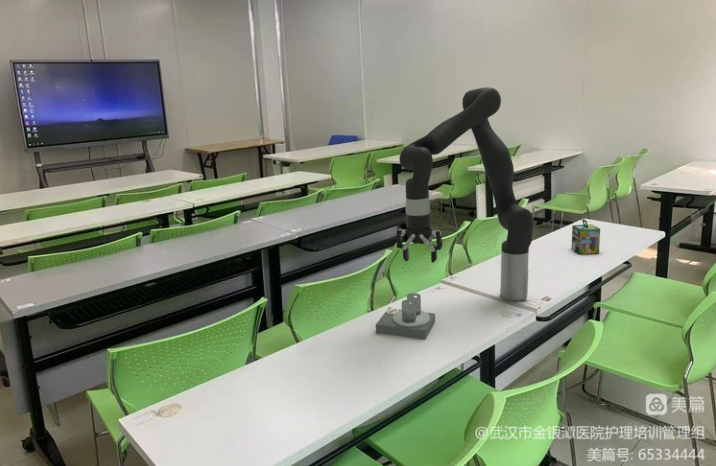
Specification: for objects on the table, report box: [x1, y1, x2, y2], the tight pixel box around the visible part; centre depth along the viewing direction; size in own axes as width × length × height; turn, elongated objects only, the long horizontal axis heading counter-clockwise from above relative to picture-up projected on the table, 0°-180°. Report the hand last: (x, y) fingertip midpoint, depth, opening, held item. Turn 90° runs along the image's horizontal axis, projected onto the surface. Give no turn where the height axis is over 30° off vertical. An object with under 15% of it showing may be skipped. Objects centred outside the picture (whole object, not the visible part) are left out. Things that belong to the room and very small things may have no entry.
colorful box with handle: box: [570, 218, 601, 255], centre depth 235 cm, size 9×9×15 cm
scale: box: [375, 307, 436, 340], centre depth 170 cm, size 16×13×4 cm
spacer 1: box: [406, 292, 422, 316], centre depth 170 cm, size 4×4×6 cm
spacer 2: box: [401, 299, 416, 323], centre depth 165 cm, size 4×4×6 cm
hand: (419, 261), depth 168 cm, fingers open, 8 cm apart
